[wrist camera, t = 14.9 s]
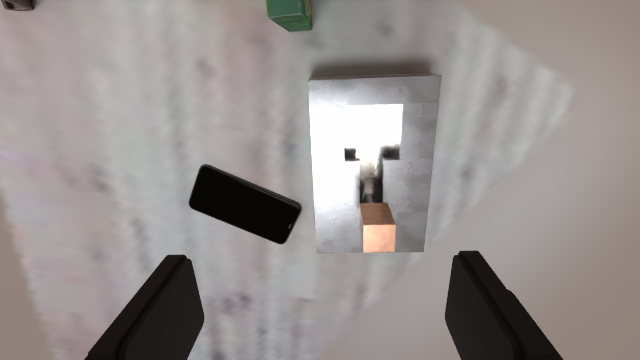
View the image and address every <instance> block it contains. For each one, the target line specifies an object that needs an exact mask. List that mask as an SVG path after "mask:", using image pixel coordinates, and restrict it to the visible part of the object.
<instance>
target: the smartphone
mask: <svg viewBox="0 0 640 360" xmlns="http://www.w3.org/2000/svg"><path fill="white" fill-rule="evenodd" d="M189 206H190V207H191V208H192V209H194V210H196V211H198V212H201V213H203V214H206V215H208V216H211V217H213V218H216V219H218V220H221V221H223V222H226V223H228V224H231V225H233V226H235V227H238V228H240V229H243V230H245V231H248V232H250V233H253V234H255V235H258V236H260V237H263V238H265V239H268V240H270V241H272V242H275V243H278V244H284V243H285V242H286V241H287V239H288V237H289V235H290V233H291V231H292V229H293V227H294V225H295V223H296V221H297V219H298V217H299V215H300V213H301V210H302V208H301V205H300V204H299V203H297V202H295V201H292V200H290V199H288V198H285V197H283V196H281V195H279V194H276V193H274V192H272V191H269V190H266V189H264V188H262V187H259V186H257V185H255V184H252V183H250V182H248V181H245V180H243V179H241V178H238V177H236V176H233V175H231V174H229V173H226V172H224V171H222V170H219V169H217V168H215V167H212V166H210V165H202V166H201V167H200V169H199V172H198V175H197V178H196V181H195V184H194V187H193V190H192V193H191V196H190V199H189Z"/></svg>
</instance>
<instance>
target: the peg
mask: <svg viewBox="0 0 640 360" xmlns="http://www.w3.org/2000/svg"><path fill="white" fill-rule="evenodd" d="M381 193H382V185H381V184H380V183H379V182H378V181H376V180H373V179H364V180H361V181H360V203H359V228H360V234H361V241H362V247H363V252H395V233H396V224H395V221H394V218H393V216H392V213H391V210H390V208H389V205H388V203H381Z"/></svg>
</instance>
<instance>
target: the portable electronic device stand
mask: <svg viewBox="0 0 640 360" xmlns="http://www.w3.org/2000/svg"><path fill="white" fill-rule="evenodd" d="M1 1H2V4H3V6H4V8H5V9H8V10H14V11H30V10H33V9H32V7H31V4H30V0H1Z"/></svg>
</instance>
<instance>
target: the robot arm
mask: <svg viewBox="0 0 640 360" xmlns="http://www.w3.org/2000/svg"><path fill="white" fill-rule="evenodd" d="M445 320H446V324H447V327H448V329H449V332H450V334H451V336H452V339H453V341H454V343H455V346H456V348H457V351H458V353H459V355H460V358H461V360H563V359H562V357H561V356H560V355H559V353H558V352H557V351H556V349H555V348H554V347H553V345H552V344H551V343H550V341H549V340H548V339H547V337H546V336H545V335H544V333H543V332H542V331H541V329H540V328H539V327H538V326H537V324H536V323H535V321H534V320H533V319H532V318H531V316H530V315H529V313H528V312H527V311H526V309H525V308H524V307H523V306H522V304H521V303H520V302H519V300H518V299H517V298H516V296H515V295H514V294H513V293H512V292H511V291H509V290H507V289H506V287H505V286H504V285H503V283H502V282H501V281H500V279H499V278H498V277H497V275H496V274H495V273H494V271H493V270H492V269H491V267H490V266H489V265H488V263H487V262H486V261H485V259H484V258H483V256H482V255H481V254H480V253H479V252H478V251H460V252H459V253H458V255H455V256H454V257H453V262H452V269H451V276H450V284H449V290H448V297H447V304H446V311H445ZM203 323H204V312H203V308H202V304H201V299H200V295H199V291H198V287H197V282H196V278H195V274H194V270H193V265H192V262H191V260H190V259H187V257H186V256H185V255H167V256H166V257H165V258H164V260H163V261H162V262H161V263H160V264H159V266H158V267H157V268H156V269H155V271H154V272H153V273H152V274H151V276H150V277H149V278H148V279H147V281H146V282H145V283H144V284H143V286H142V287H141V288H140V289H139V290H138V292H137V293H136V294H135V295H134V297H133V298H132V299H131V300H130V302H129V303H128V304H127V305H126V307H125V308H124V309H123V310H122V312H121V313H120V314H119V315H118V316H117V318H116V319H115V320H114V321H113V323H112V324H111V325H110V326H109V328H108V329H107V330H106V331H105V333H104V334H103V335H102V336H101V338H100V339H99V340H98V341H97V342H96V344H95V345H94V346H93V347H92V349H91V350H90V351H89V352H88V356H87V357H86V358H85V359H84V360H187V358H188V356H189V354H190V352H191V350H192V348H193V345H194V343H195V341H196V339H197V337H198V335H199V333H200V331H201V328H202V326H203Z"/></svg>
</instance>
